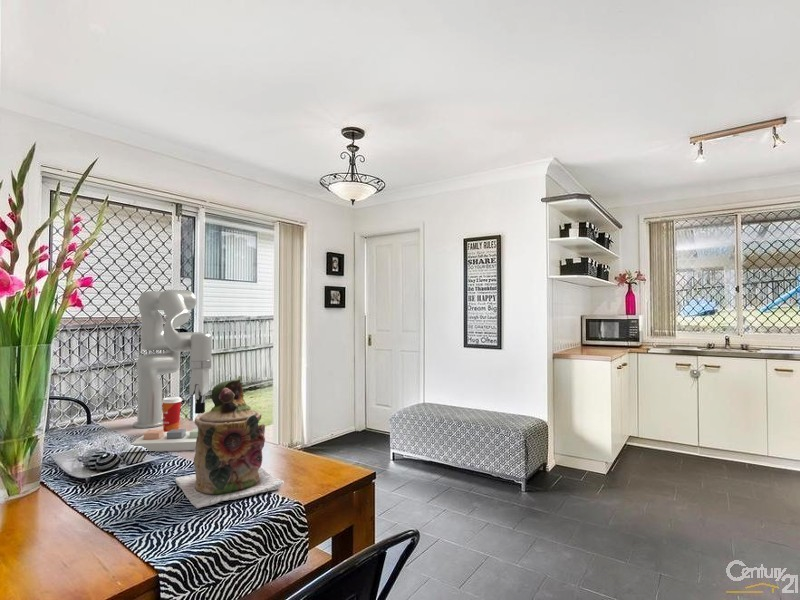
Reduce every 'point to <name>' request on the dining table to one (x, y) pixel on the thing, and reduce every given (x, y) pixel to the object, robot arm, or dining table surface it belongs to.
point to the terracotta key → (153, 434)
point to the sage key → (194, 433)
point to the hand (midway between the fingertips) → (199, 412)
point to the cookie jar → (228, 451)
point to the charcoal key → (176, 433)
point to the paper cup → (171, 413)
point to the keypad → (167, 443)
